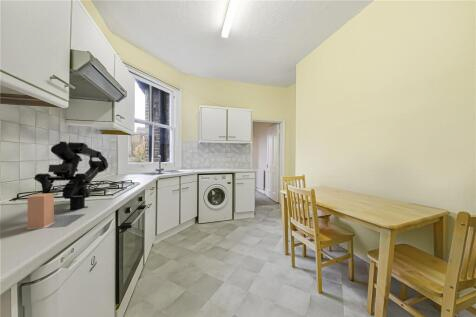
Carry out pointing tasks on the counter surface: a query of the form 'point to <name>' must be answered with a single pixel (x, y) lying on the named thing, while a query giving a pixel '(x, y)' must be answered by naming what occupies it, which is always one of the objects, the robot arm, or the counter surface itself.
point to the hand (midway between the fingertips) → (57, 196)
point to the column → (40, 210)
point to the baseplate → (62, 221)
